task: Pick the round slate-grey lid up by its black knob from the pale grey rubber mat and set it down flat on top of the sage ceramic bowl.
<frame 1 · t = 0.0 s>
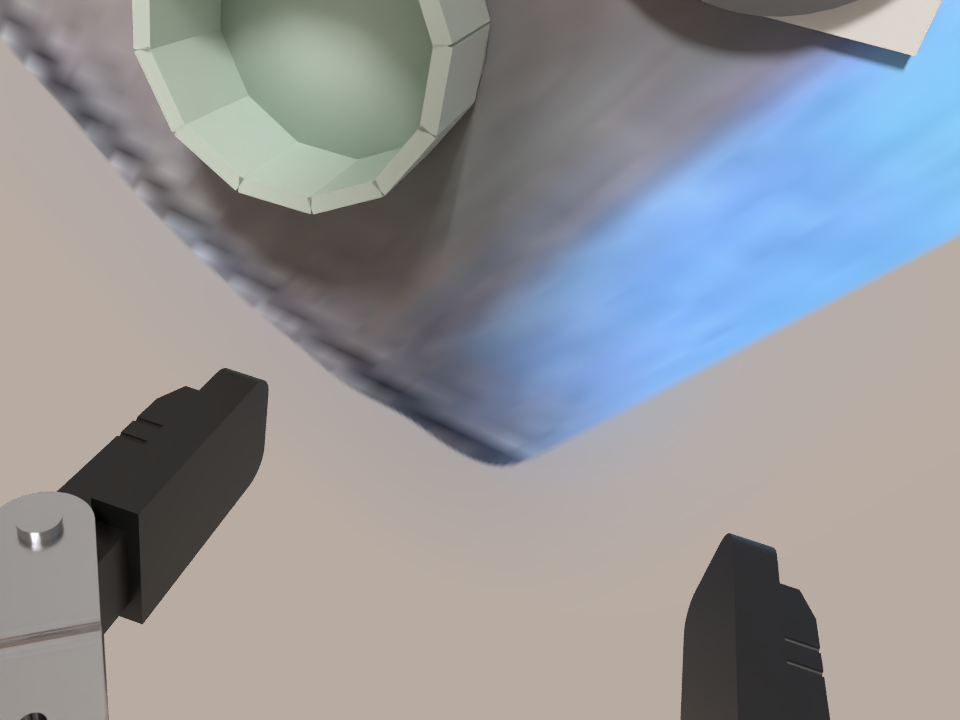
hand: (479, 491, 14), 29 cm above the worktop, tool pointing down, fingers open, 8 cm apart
bowl: (348, 23, 40), on the worktop
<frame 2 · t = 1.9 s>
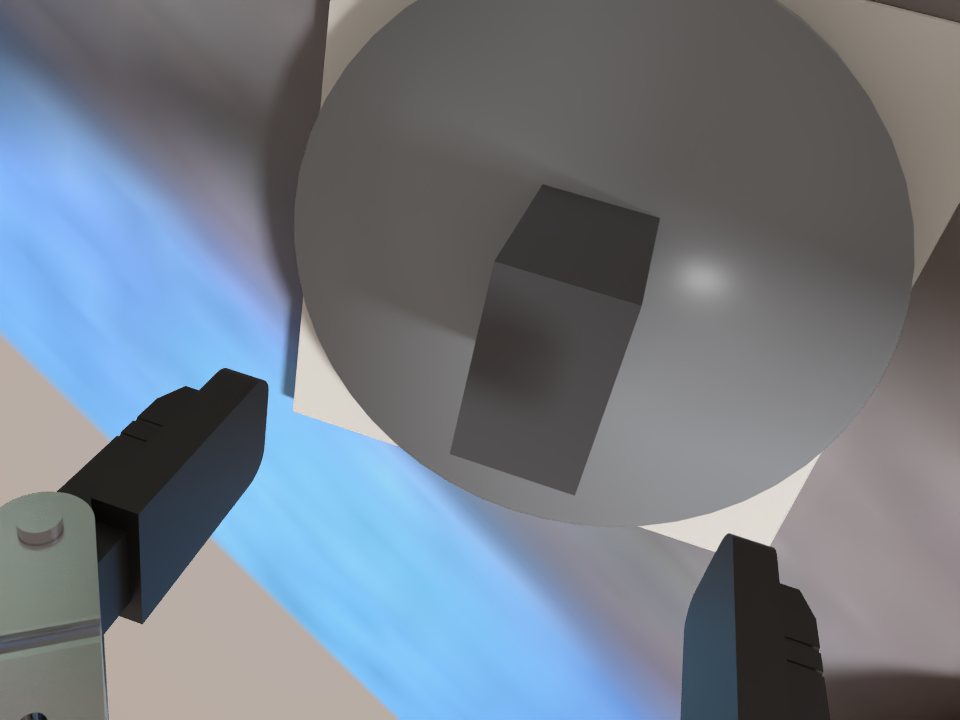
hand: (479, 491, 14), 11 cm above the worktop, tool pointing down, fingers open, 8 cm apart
mat: (584, 263, 23), on the worktop
lid: (581, 271, 22), point 1 cm above the worktop, touching mat
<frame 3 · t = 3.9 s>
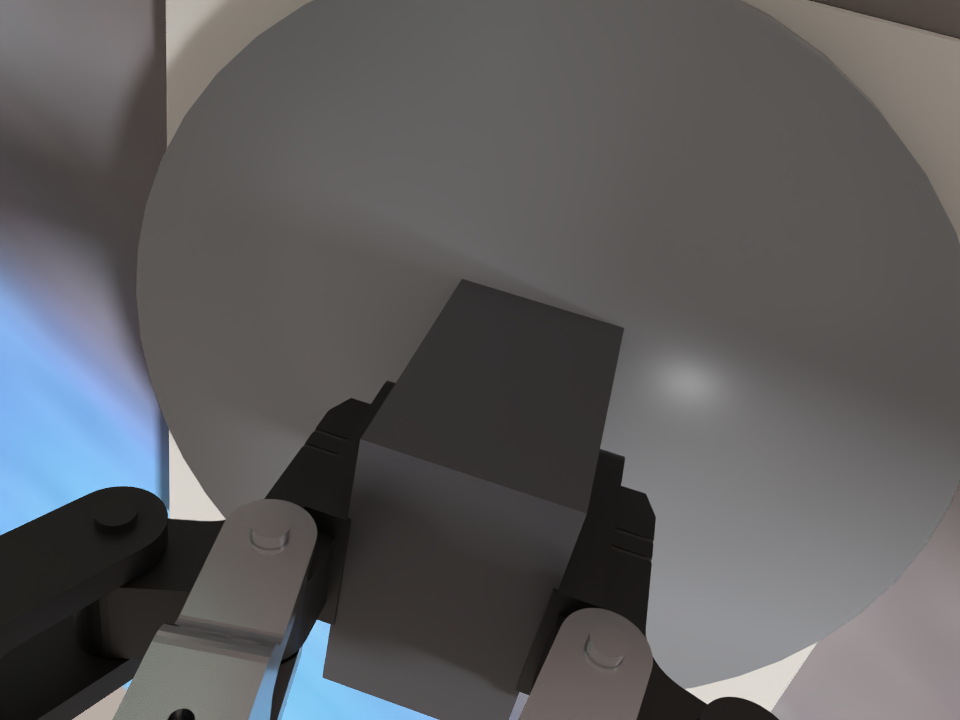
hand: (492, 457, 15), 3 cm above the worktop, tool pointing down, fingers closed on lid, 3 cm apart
mat: (527, 366, 17), on the worktop
lid: (523, 381, 17), point 1 cm above the worktop, touching gripper, mat
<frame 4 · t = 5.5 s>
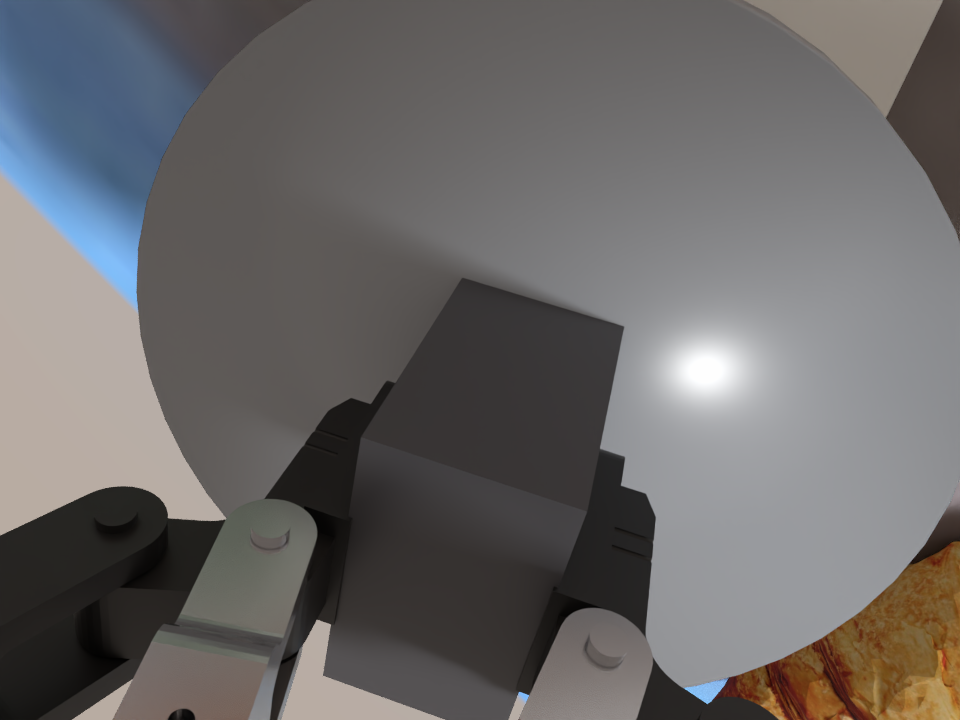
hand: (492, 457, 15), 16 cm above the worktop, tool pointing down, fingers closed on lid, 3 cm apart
croissant: (947, 622, 34), on the worktop
mat: (591, 174, 28), on the worktop
lid: (523, 380, 17), point 13 cm above the worktop, touching gripper
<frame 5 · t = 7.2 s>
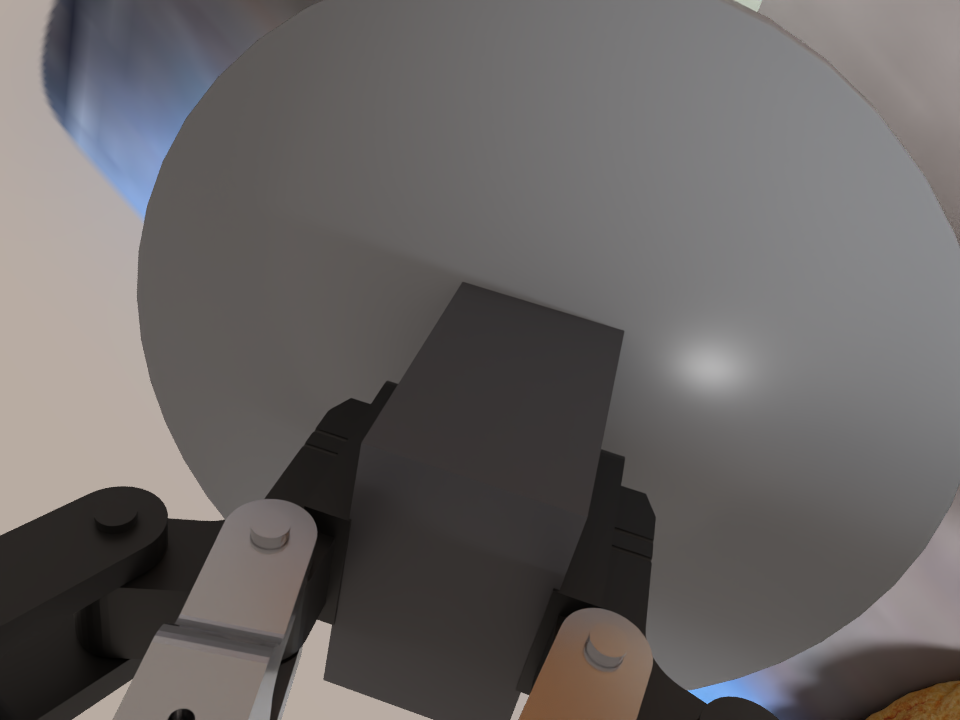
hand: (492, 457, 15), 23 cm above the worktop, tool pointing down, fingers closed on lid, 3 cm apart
lid: (523, 383, 17), point 20 cm above the worktop, touching gripper
when the fingers open (11 cm above the worktop, at t = 10.1 s): lid drops 1 cm, resting on bowl.
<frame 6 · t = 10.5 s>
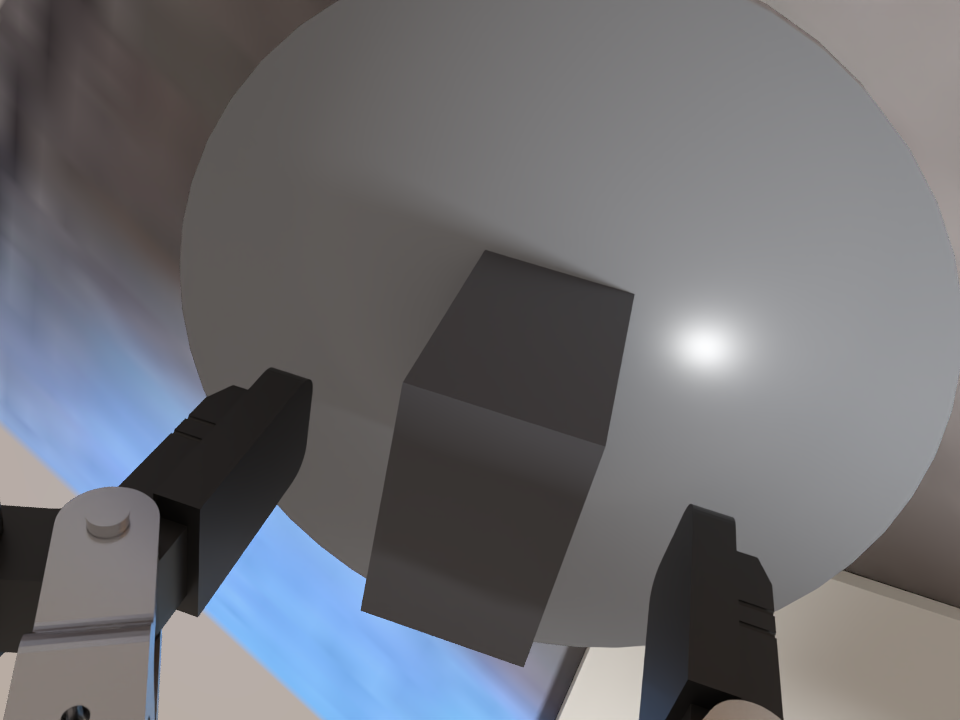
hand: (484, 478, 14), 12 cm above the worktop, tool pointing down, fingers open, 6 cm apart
mat: (782, 719, 32), on the worktop
lid: (539, 348, 18), point 7 cm above the worktop, touching bowl
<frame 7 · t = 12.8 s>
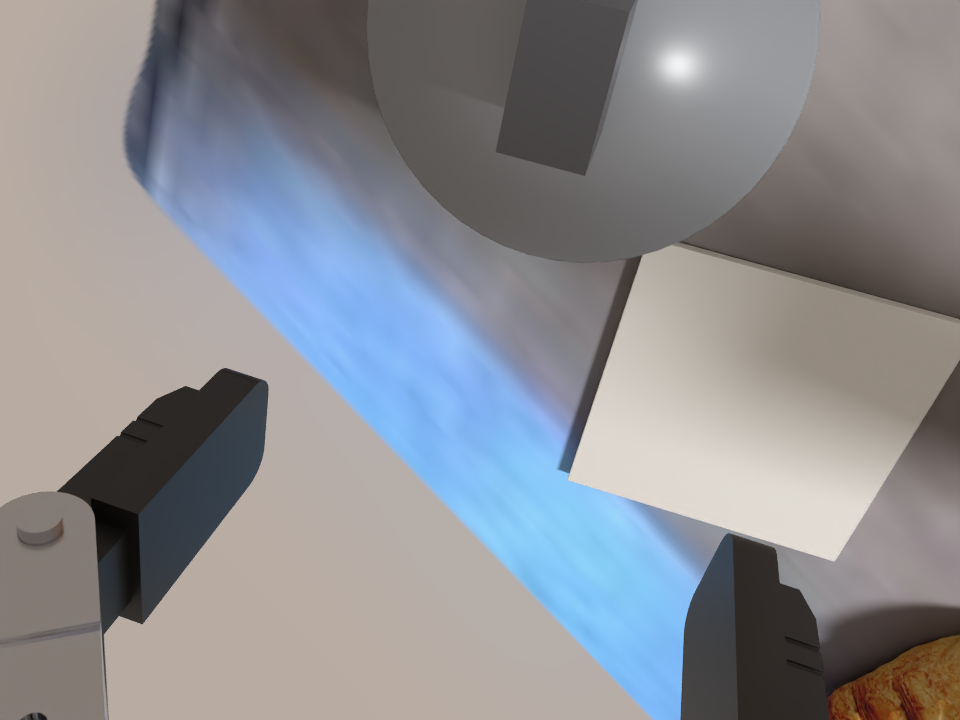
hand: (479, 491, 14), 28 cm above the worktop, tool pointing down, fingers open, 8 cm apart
mat: (748, 407, 44), on the worktop
lid: (583, 49, 30), point 7 cm above the worktop, touching bowl
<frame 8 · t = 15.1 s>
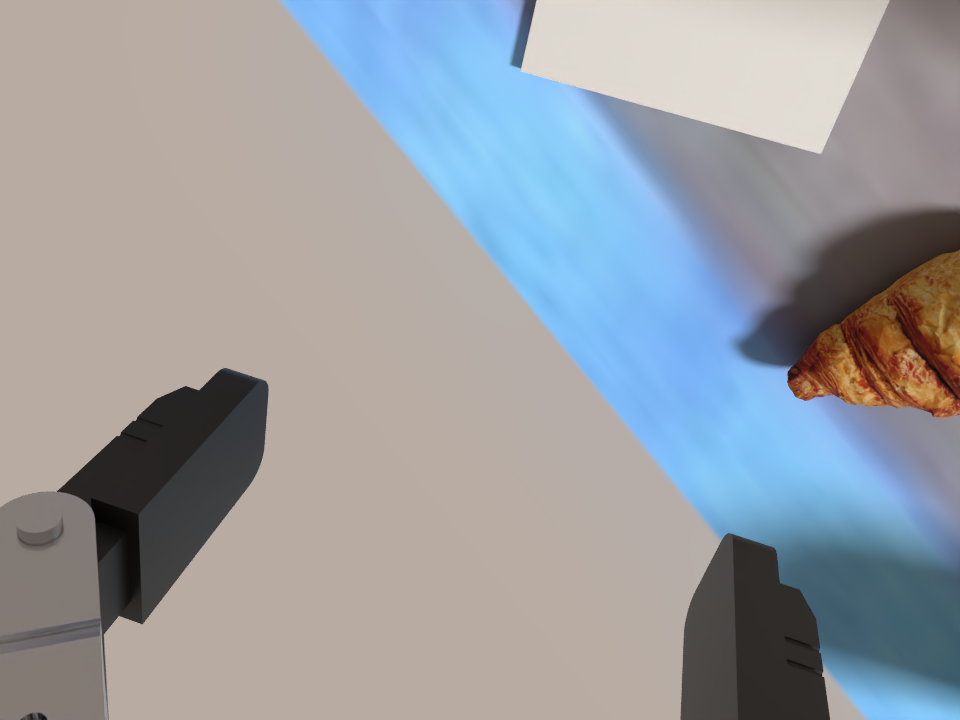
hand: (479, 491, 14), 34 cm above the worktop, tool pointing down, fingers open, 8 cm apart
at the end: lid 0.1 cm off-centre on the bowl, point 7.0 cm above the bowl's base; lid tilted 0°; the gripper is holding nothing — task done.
